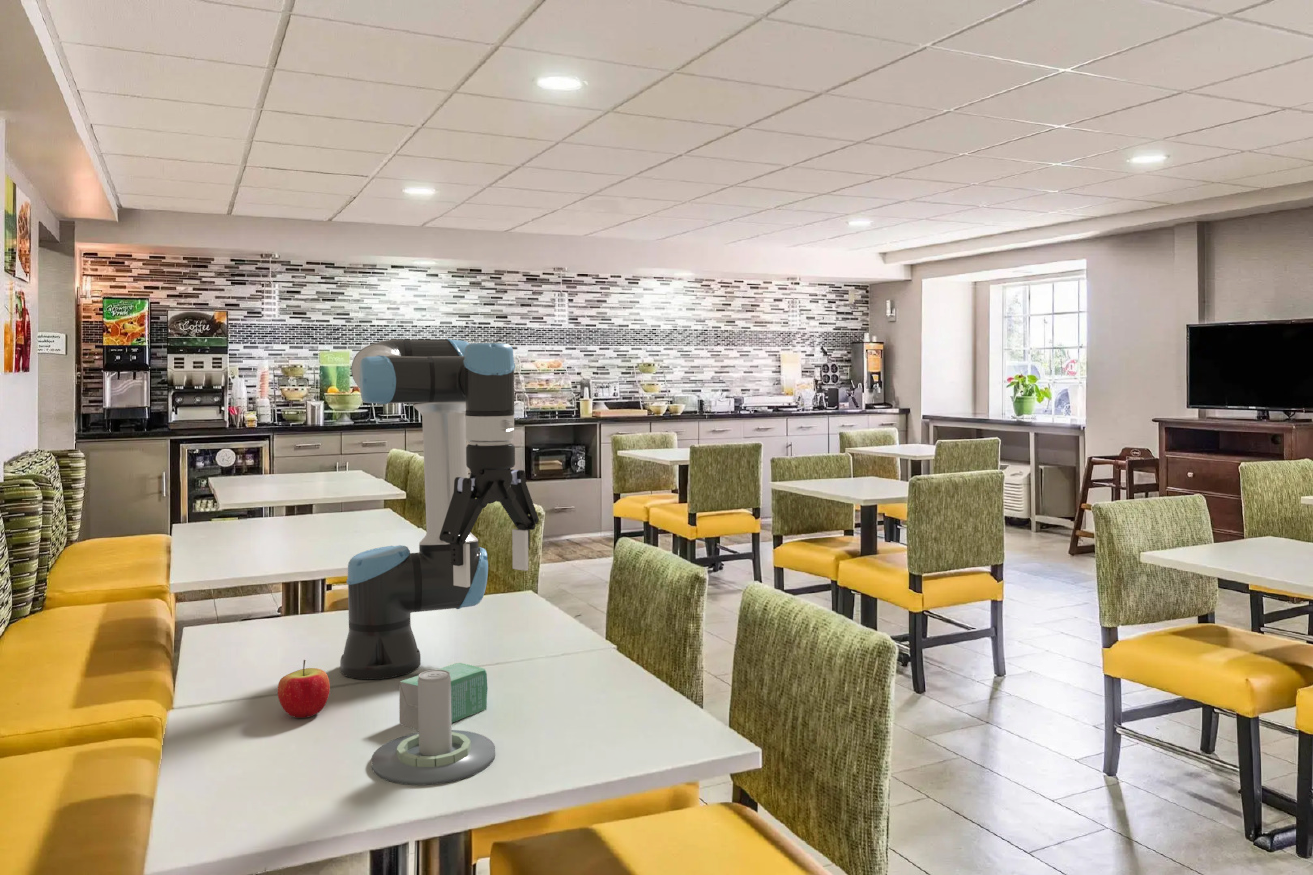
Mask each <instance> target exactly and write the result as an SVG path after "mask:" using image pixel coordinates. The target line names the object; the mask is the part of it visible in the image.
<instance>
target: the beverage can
mask: <svg viewBox="0 0 1313 875" xmlns="http://www.w3.org/2000/svg"><path fill="white" fill-rule="evenodd" d="M418 676H419V678H418V721H419V730H418V733H419V752H420V753H421V755H422V756H438V755H443V754H447V753H449V752H450V751H451V749H452V730H453V729H452V728H453V726H452V723H451V677H450V673H449V672H448V671H446V670H437V669H430V670H425V671H422V672H420V673H419V674H418Z"/></svg>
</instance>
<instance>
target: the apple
mask: <svg viewBox="0 0 1313 875" xmlns="http://www.w3.org/2000/svg"><path fill="white" fill-rule="evenodd" d="M302 664H303V666H302V668H301V669H298V670H296V671H293V672H290V673H288V674H286V675H284V676H282V677H281V678H280V680H279V682H278V685H277V697H278V701H279V703H280V705H281V708H282V709H283V710H284V712H285V713H286V714H288V715H289V716H291V717H294V718H299V719H304V718H309V717H313V716H314V715H317V714H318V713H320V712H321V711H322V710H323V709H324V707H325V705H326V704H327V701H329V700H328V699H329V697H330V696H329V695H330V690H331V689H330V688H331V685H330V684H331V683H330V678H329V677H328V673H326V671H325V670H323V669H321V668H315V667H309V668H308V667H307V668H306V667H305V665H306V659H303V663H302Z"/></svg>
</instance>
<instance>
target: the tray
mask: <svg viewBox="0 0 1313 875" xmlns="http://www.w3.org/2000/svg"><path fill="white" fill-rule="evenodd" d="M495 758H496V746H495V743H494V742H493V741H492V740H491V739H490V738H488V737H487V736H485V735H483V734H479V733H476V732H472V731H468V730H458V729H452V749H451V751H450V752H449V753H447V754H443V755H438V756H422V755H421V753H420V752H419V732H415V733H410V734H407V735H403V736H400V737H397V738H395V739H392V740H389V741H388V742H385V743H384V744H382V745H381V746H379V747H378V748H377V749H376V750H375V751H374V752H373V754H372V755H371V770H372V772H373V774H375V775H376V776H377V777H378V778H380V779H383V780H385V781H387V782H391V783H395V784H399V785H400V784H401V785H407V786H408V785H410V786H429V785H430V786H431V785H439V784H446V783H450V782H451V783H452V782H456V781H460V780H464V779H467V778H469V777H472V776H474V775H476V774H479V773H480V772H483V770H486V769H487V768H489V766H490V765H492V764H493V762H494V760H495Z"/></svg>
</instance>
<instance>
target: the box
mask: <svg viewBox="0 0 1313 875" xmlns="http://www.w3.org/2000/svg"><path fill="white" fill-rule="evenodd" d="M436 670H446V671H448V672H449V673H450V677H451V723H454V722H458V721H459V720H462V719H465V718H467V717H469V716H472V715H475V714H478V713H480V712H482V711H485V710H487V709H488V706H487V705H488V702H487V700H488V678H487V677H488V674H487V671H486V668H483V667H480V666H477V665H472V664H467V663H463V662H456V663H453V664H450V665H447V666H444V667H441V668H439V669H436ZM418 678H419V675H416V676H415V675H414V676H413V677H410V678H405V679H403V680H400V681H399V685H398V688H399V690H398V691H399V724H400V725H402V726H404V727H406V728H410V729H414V730H417V731H419V721H418Z"/></svg>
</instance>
